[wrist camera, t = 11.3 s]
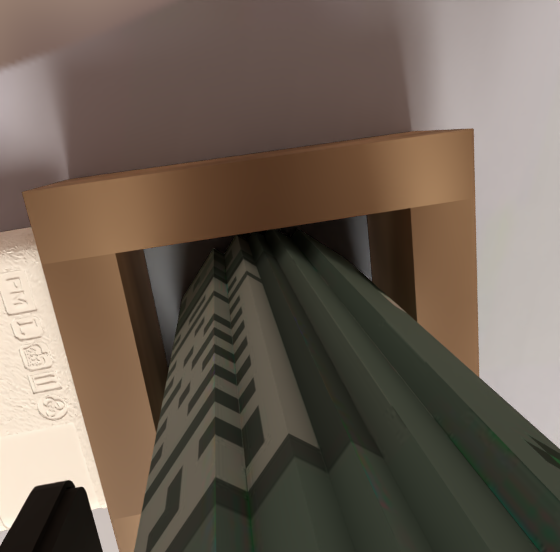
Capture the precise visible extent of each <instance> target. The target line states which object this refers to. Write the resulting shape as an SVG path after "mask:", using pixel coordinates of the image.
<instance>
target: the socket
mask: <svg viewBox="0 0 560 552" xmlns="http://www.w3.org/2000/svg"><path fill="white" fill-rule="evenodd" d="M22 195H23V198H24V202H25V206H26V209H27V213H28V217H29V220H30V224H31V228H32V231H33V235H34V239H35V242H36V246H37V250H38V254H39V257H40V261H41V265H42V268H43V272H44V276H45V279H46V283H47V287H48V290H49V294H50V298H51V301H52V305H53V309H54V313H55V316H56V320H57V324H58V327H59V331H60V335H61V338H62V342H63V346H64V349H65V353H66V357H67V360H68V364H69V368H70V372H71V375H72V379H73V383H74V386H75V390H76V394H77V397H78V401H79V405H80V408H81V412H82V416H83V419H84V423H85V427H86V431H87V434H88V438H89V442H90V445H91V449H92V453H93V456H94V460H95V464H96V467H97V471H98V475H99V478H100V482H101V486H102V490H103V493H104V497H105V501H106V504H107V508H108V512H109V515H110V519H111V523H112V526H113V530H114V534H115V537H116V541H117V545H118V549H119V552H134V549H135V543H136V538H137V533H138V528H139V522H140V517H141V512H142V507H143V502H144V496H145V491H146V486H147V481H148V475H149V470H150V465H151V460H152V454H153V449H154V444H155V439H156V433H157V428H158V423H159V418H160V412H161V407H162V402H163V397H164V391H165V386H166V381H167V376H168V370H169V369H168V365H167V360H166V355H165V350H164V346H163V341H162V336H161V332H160V327H159V322H158V317H157V313H156V308H155V303H154V298H153V294H152V289H151V284H150V279H149V275H148V270H147V265H146V261H145V256H144V251H143V249H147V248H153V247H160V246H166V245H173V244H179V243H186V242H192V241H199V240H205V239H212V238H218V237H225V236H231V235H238V234H244V233H251V232H257V231H264V230H270V229H277V228H283V227H290V226H296V225H303V224H309V223H316V222H322V221H329V220H335V219H342V218H348V217H355V216H361V215H367V221H368V233H369V245H370V257H371V269H372V282H373V283H374V284H375V285H376V286H377V287H378V288H379V289H380V290H382V291H383V292H384V293H385V294H386V295H387V296H388V297H389V298H391V299H392V300H393V301H394V302H395V303H396V304H397V305H398V306H400V307H401V308H402V309H403V310H404V311H405V312H406V313H407V314H408V315H410V316H411V317H412V318H413V319H414V320H415V321H416V322H417V323H419V324H420V325H421V326H422V327H423V328H424V329H425V330H426V331H428V332H429V333H430V334H431V335H432V336H433V337H434V338H435V339H437V340H438V341H439V342H440V343H441V344H442V345H443V346H444V347H446V348H447V349H448V350H449V351H450V352H451V353H452V354H453V355H455V356H456V357H457V358H458V359H459V360H460V361H461V362H462V363H464V364H465V365H466V366H467V367H468V368H469V369H470V370H471V371H473V372H474V373H475V374H476V375H477V376H478V377H479V347H478V303H477V260H476V216H475V172H474V129H453V130H432V131H412V132H404V133H397V134H390V135H383V136H376V137H369V138H361V139H354V140H347V141H340V142H333V143H325V144H318V145H311V146H304V147H297V148H290V149H282V150H275V151H268V152H261V153H254V154H247V155H239V156H232V157H225V158H218V159H211V160H203V161H196V162H189V163H182V164H175V165H168V166H160V167H153V168H146V169H139V170H132V171H124V172H117V173H110V174H103V175H96V176H89V177H81V178H74V179H68V180H64V181H61V182H57V183H53V184H49V185H46V186H42V187H38V188H35V189H31V190H27V191H23V192H22Z"/></svg>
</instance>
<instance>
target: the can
mask: <svg viewBox="0 0 560 552" xmlns="http://www.w3.org/2000/svg"><path fill="white" fill-rule="evenodd" d="M134 552H560V449H559V448H558V447H557V446H556V445H555V444H553V443H552V442H551V441H550V440H549V439H548V438H547V437H546V436H544V435H543V434H542V433H541V432H540V431H539V430H538V429H537V428H535V427H534V426H533V425H532V424H531V423H530V422H529V421H528V420H526V419H525V418H524V417H523V416H522V415H521V414H520V413H519V412H517V411H516V410H515V409H514V408H513V407H512V406H511V405H510V404H508V403H507V402H506V401H505V400H504V399H503V398H502V397H501V396H499V395H498V394H497V393H496V392H495V391H494V390H493V389H492V388H490V387H489V386H488V385H487V384H486V383H485V382H484V381H483V380H482V379H480V378H479V377H478V376H477V375H476V374H475V373H474V372H473V371H471V370H470V369H469V368H468V367H467V366H466V365H465V364H464V363H462V362H461V361H460V360H459V359H458V358H457V357H456V356H455V355H453V354H452V353H451V352H450V351H449V350H448V349H447V348H446V347H444V346H443V345H442V344H441V343H440V342H439V341H438V340H437V339H435V338H434V337H433V336H432V335H431V334H430V333H429V332H428V331H426V330H425V329H424V328H423V327H422V326H421V325H420V324H419V323H417V322H416V321H415V320H414V319H413V318H412V317H411V316H410V315H408V314H407V313H406V312H405V311H404V310H403V309H402V308H401V307H400V306H398V305H397V304H396V303H395V302H394V301H393V300H392V299H391V298H389V297H388V296H387V295H386V294H385V293H384V292H383V291H382V290H380V289H379V288H378V287H377V286H376V285H375V284H374V283H373V282H371V281H370V280H369V279H368V278H367V277H366V276H365V275H364V274H362V273H361V272H360V271H359V270H358V269H357V268H356V267H355V266H353V265H352V264H351V263H350V262H349V261H348V260H347V259H345V258H344V257H342V256H341V255H339V254H337V253H336V252H334V251H333V250H331V249H330V248H328V247H326V246H325V245H323V244H322V243H320V242H318V241H317V240H315V239H314V238H312V237H311V236H309V235H307V234H306V233H304V232H303V231H301V230H299V229H298V228H297V230H296V231H295V233H294V234H293V236H292V237H291V238H289V237H288V236H286V235H284V234H283V233H281V232H280V231H278V230H276V229H270V230H268V231H267V232H266V234H265V235H264V236H263V235H261V234H260V233H258V232H252V233H251V235H250V237H249V238H248V240H246V239H245V238H243V237H241V236H240V235H236V236H235V238H234V239H233V241H232V242H231V244H230V246H229V247H228V249H227V250H226V252H225V254H223V253H221V252H219V251H217V250H216V249H214V248H213V250H212V251H211V253H210V254H209V256H208V258H207V259H206V261H205V263H204V264H203V266H202V267H201V269H200V271H199V272H198V274H197V275H196V277H195V279H194V280H193V282H192V284H191V285H190V287H189V288H188V290H187V292H186V293H185V295H184V296H183V298H182V302H181V307H180V313H179V318H178V323H177V328H176V334H175V339H174V344H173V349H172V355H171V360H170V365H169V370H168V376H167V381H166V386H165V391H164V397H163V402H162V407H161V412H160V418H159V423H158V428H157V433H156V439H155V444H154V449H153V454H152V460H151V465H150V470H149V475H148V481H147V486H146V491H145V496H144V502H143V507H142V512H141V517H140V522H139V528H138V533H137V538H136V543H135V549H134Z"/></svg>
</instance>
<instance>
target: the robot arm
mask: <svg viewBox="0 0 560 552" xmlns="http://www.w3.org/2000/svg"><path fill="white" fill-rule="evenodd" d="M0 552H103V551H102V547H101V544H100V540H99V536H98V533H97V529H96V525H95V522H94V518H93V514H92V511H91V507H90V503H89V500H88V496H87V493H86V490H85V489H84V487H75V485H74V483H73V482H72V481H70V480H66V481H60V482H55V483H49V484H44V485H38V486H36V487H34V488H33V489H32V491H31V492H30V494H29V496H28V498H27V499H26V501H25V503H24V505H23V507H22V508H21V510H20V512H19V514H18V515H17V517H16V519H15V521H14V523H13V524H12V526H11V528H10V530H9V531H8V533H7V535H6V537H5V538H4V540H3V542H2V544H1V546H0Z"/></svg>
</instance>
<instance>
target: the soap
mask: <svg viewBox="0 0 560 552" xmlns="http://www.w3.org/2000/svg"><path fill="white" fill-rule="evenodd" d="M66 480H70V481H72V482H73V483H74V485H75V487H84V489H85V490H86V493H87V496H88V500H89V503H90V507H91V509H95V508H100V507H101V508H102V509H103V508H107V504H106V501H105V497H104V493H103V490H102V486H101V482H100V478H99V475H98V471H97V467H96V464H95V460H94V456H93V453H92V449H91V445H90V442H89V438H88V434H87V431H86V427H85V423H84V419H83V416H82V412H81V408H80V405H79V401H78V397H77V394H76V390H75V386H74V383H73V379H72V375H71V372H70V368H69V364H68V360H67V357H66V353H65V349H64V346H63V342H62V338H61V335H60V331H59V327H58V324H57V320H56V316H55V313H54V309H53V305H52V301H51V298H50V294H49V290H48V287H47V283H46V279H45V276H44V272H43V268H42V265H41V261H40V257H39V254H38V250H37V246H36V242H35V239H34V235H33V231H32V228H31V227H28V228H23V229H16V230H11V231H5V232H0V531H3V530H9V529H10V528H11V526H12V524H13V523H14V521H15V519H16V517H17V515H18V514H19V512H20V510H21V508H22V507H23V505H24V503H25V501H26V499H27V498H28V496H29V494H30V492H31V491H32V489H33V488H34V487H36V486H38V485H44V484H49V483H55V482H60V481H66Z"/></svg>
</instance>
